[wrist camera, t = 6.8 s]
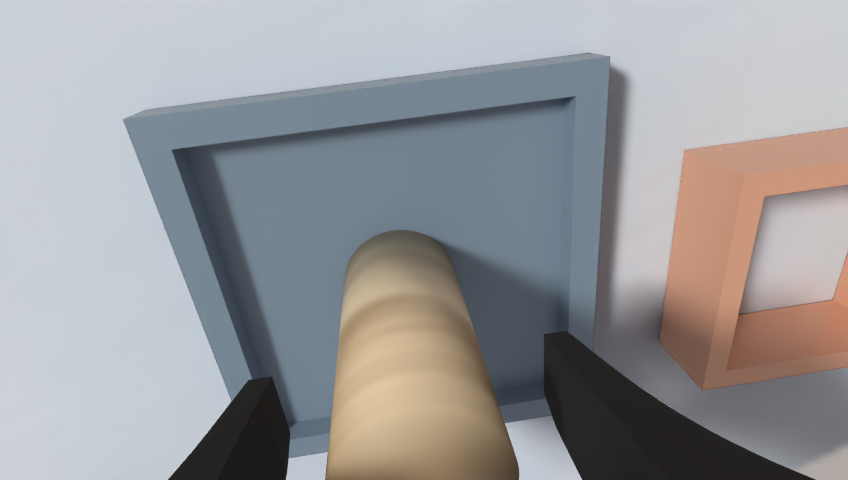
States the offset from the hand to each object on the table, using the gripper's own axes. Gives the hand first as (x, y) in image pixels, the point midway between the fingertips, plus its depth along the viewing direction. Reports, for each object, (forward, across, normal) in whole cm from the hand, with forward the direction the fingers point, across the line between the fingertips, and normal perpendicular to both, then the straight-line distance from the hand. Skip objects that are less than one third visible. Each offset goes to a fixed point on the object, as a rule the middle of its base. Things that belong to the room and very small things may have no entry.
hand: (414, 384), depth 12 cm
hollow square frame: (+6, -15, +1) cm, 16 cm away
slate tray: (+6, 0, 0) cm, 6 cm away
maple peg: (+5, 0, 0) cm, 5 cm away
